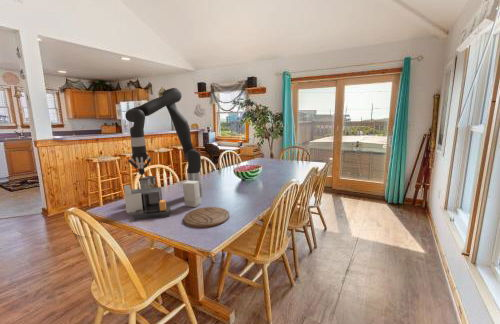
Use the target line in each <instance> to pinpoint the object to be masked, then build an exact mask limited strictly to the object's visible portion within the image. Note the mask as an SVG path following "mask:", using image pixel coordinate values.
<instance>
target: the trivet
mask: <svg viewBox="0 0 500 324" xmlns="http://www.w3.org/2000/svg"><path fill="white" fill-rule="evenodd" d="M229 218H230V211H229V210H227V209H226V208H222V207H217V206H207V207H206V206H205V207H199V208H196V209H192V210H191V211H188V213H186V214H185V215H184V217H183V222H184V224H186V226H189V227H191V228H199V229H200V228H201V229H202V228H203V229H204V228H212V227H218V226H220V225H222V224H224V223H226V222H227V221H228V220H229Z"/></svg>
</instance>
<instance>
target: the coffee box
mask: <svg viewBox="0 0 500 324" xmlns="http://www.w3.org/2000/svg"><path fill="white" fill-rule="evenodd" d="M138 180H139V187H140V188H139V189H144V188H156V187H157V181H156V176H155V175H146V176H143V177H141V178H139V179H138Z"/></svg>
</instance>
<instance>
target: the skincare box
mask: <svg viewBox="0 0 500 324" xmlns="http://www.w3.org/2000/svg"><path fill="white" fill-rule="evenodd" d="M182 191H183V192H182V193H183V197H184V198H183V201H184V206H185V207H192V208H196V207H198V206H199V205H201V204H202V203H201V196H200V192H199V182H198V181H188V180H186V181H184V182H182Z"/></svg>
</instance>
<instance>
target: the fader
mask: <svg viewBox="0 0 500 324" xmlns="http://www.w3.org/2000/svg"><path fill="white" fill-rule="evenodd" d="M159 205H160V211H163V210H166V207H167V199H162V200H160V202H159Z"/></svg>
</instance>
